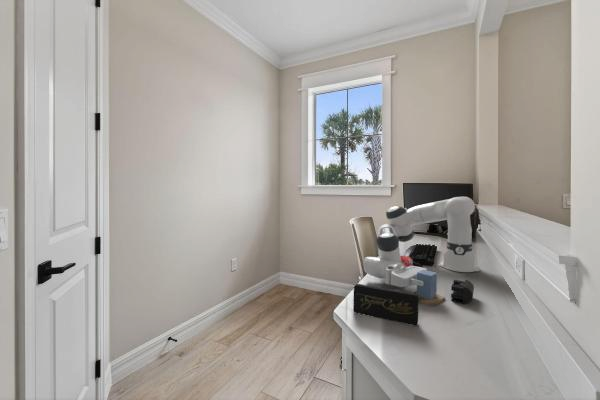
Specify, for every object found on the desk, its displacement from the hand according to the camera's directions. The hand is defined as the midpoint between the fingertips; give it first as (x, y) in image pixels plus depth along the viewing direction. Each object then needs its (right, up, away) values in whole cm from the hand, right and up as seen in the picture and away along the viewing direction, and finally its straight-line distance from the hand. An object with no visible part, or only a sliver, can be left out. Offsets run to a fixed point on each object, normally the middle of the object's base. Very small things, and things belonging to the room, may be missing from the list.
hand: (429, 280), depth 107 cm
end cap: (+14, -8, +1) cm, 16 cm away
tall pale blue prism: (-1, -6, +1) cm, 7 cm away
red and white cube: (+2, -6, +34) cm, 34 cm away
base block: (-1, -7, +1) cm, 8 cm away
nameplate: (-22, -9, -15) cm, 28 cm away
